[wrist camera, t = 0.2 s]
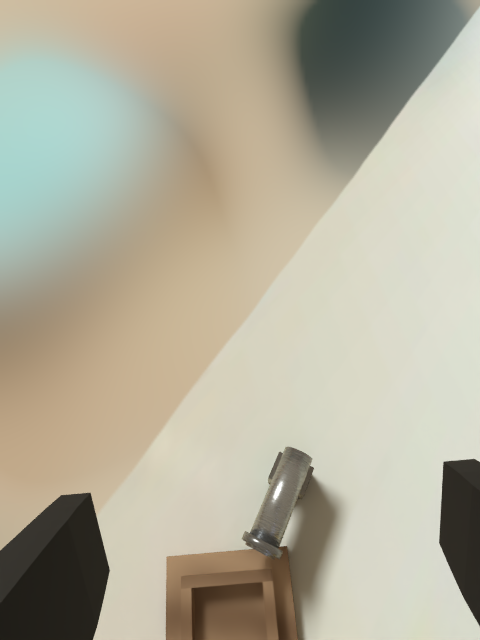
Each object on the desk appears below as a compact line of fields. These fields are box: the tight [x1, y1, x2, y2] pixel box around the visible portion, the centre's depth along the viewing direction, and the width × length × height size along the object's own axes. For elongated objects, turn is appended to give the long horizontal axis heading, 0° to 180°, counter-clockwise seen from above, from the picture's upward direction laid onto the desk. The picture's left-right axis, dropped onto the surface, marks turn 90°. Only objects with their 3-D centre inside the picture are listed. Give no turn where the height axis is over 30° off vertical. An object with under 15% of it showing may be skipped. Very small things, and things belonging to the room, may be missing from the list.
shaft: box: [242, 447, 314, 560], centre depth 34 cm, size 8×3×6 cm, turn 154°
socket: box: [166, 546, 298, 640], centre depth 31 cm, size 10×10×2 cm
